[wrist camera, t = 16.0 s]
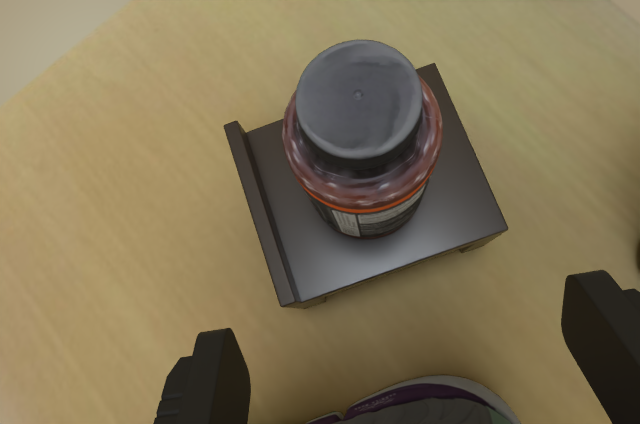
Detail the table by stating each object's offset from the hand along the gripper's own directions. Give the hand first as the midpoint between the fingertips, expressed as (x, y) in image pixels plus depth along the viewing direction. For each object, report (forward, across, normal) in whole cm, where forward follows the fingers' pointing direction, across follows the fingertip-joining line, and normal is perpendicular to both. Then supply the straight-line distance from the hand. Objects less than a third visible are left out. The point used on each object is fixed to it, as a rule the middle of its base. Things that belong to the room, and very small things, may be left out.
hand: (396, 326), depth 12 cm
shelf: (+19, 0, +8) cm, 20 cm away
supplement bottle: (+14, 0, +4) cm, 15 cm away
